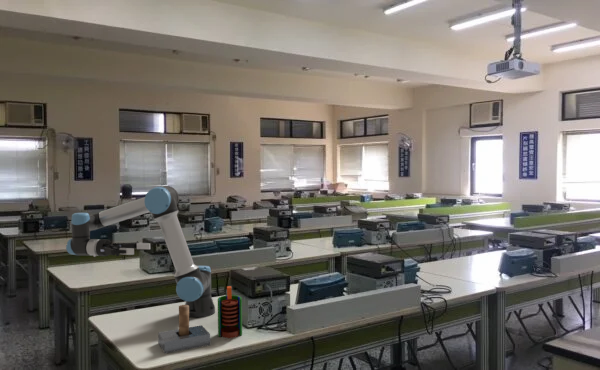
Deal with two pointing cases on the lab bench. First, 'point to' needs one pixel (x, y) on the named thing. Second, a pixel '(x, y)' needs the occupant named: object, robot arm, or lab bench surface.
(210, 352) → the lab bench surface
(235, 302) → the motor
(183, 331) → the pin
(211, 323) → the lab bench surface
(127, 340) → the lab bench surface
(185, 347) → the hole block
